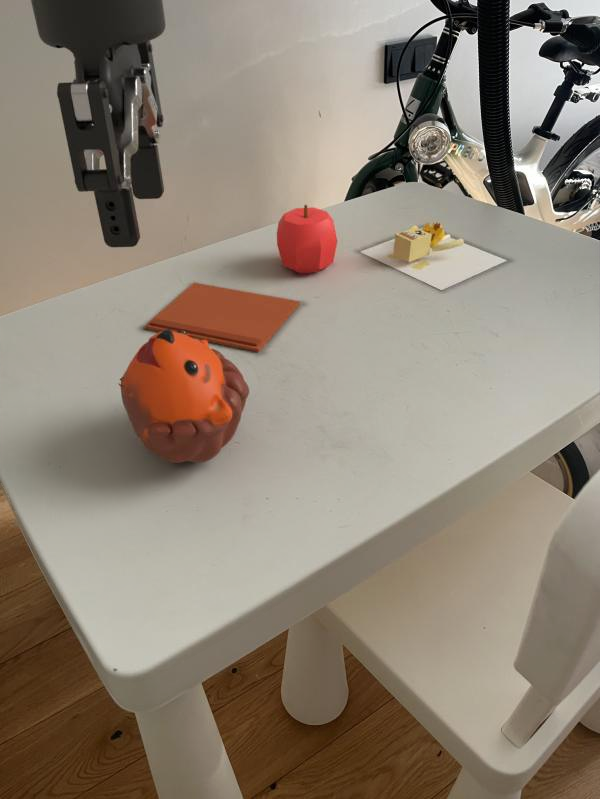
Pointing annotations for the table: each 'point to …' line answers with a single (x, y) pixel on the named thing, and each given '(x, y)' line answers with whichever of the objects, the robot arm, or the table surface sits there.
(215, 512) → the table surface
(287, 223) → the apple
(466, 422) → the table surface
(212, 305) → the book
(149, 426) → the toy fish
